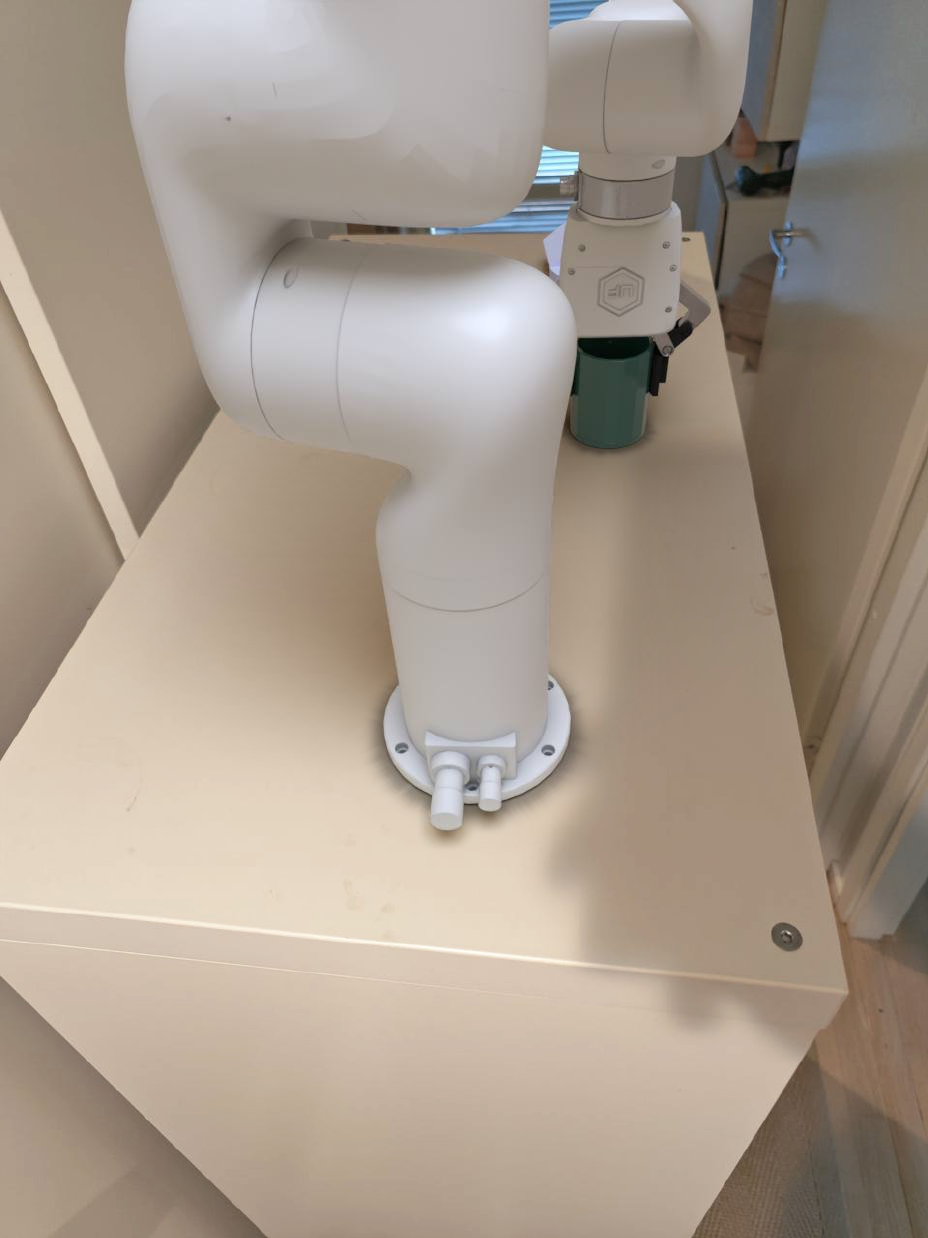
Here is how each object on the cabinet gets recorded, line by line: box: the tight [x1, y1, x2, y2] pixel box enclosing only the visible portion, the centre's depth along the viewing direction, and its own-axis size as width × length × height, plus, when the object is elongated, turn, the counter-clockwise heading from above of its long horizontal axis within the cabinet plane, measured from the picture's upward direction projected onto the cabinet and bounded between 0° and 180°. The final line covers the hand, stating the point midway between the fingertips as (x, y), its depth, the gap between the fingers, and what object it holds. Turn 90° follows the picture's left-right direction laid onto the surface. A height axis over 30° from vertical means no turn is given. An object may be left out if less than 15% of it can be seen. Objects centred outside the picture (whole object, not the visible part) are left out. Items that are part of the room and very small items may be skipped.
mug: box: [569, 336, 655, 449], centre depth 81 cm, size 10×7×9 cm
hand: (610, 388), depth 80 cm, fingers closed on mug, 7 cm apart
